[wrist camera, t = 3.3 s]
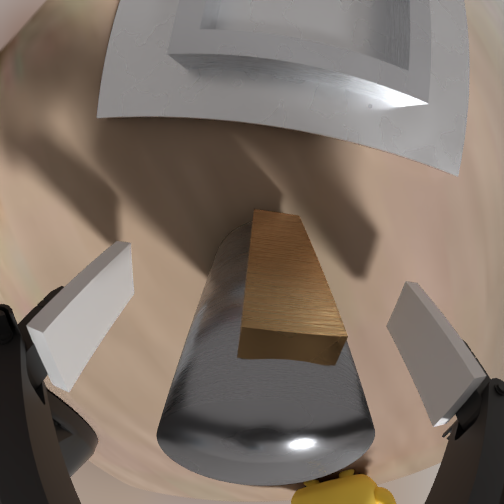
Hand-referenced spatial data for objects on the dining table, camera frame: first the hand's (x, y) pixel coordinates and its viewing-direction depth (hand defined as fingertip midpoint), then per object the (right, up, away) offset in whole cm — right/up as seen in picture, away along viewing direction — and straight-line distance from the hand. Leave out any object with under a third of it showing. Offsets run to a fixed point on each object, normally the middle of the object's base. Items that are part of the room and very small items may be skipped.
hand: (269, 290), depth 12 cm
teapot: (+11, -30, +15) cm, 36 cm away
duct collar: (+2, +13, -4) cm, 14 cm away
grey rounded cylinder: (0, +1, +2) cm, 2 cm away
